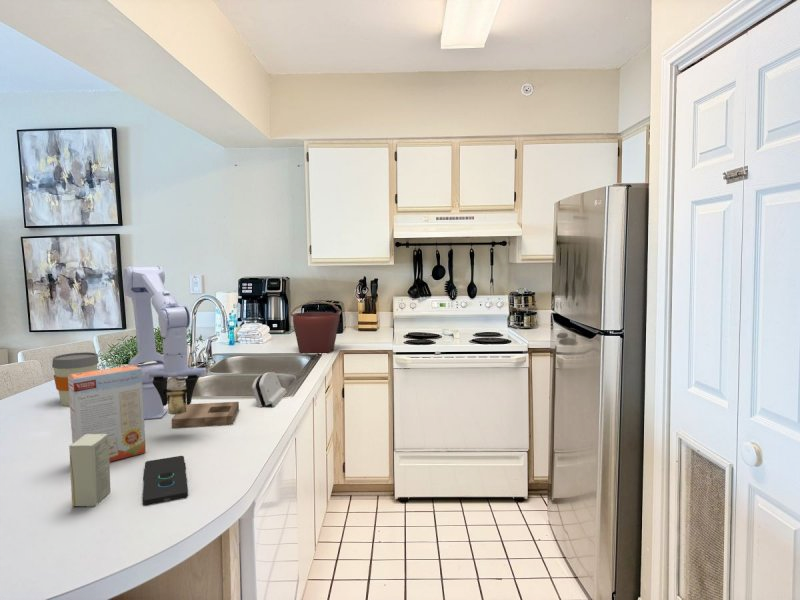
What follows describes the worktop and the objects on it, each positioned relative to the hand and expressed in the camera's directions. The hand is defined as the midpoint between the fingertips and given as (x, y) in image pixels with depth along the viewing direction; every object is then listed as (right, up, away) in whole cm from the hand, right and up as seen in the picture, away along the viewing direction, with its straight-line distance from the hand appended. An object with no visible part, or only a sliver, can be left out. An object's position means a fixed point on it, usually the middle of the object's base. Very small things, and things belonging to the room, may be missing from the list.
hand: (177, 404), depth 131 cm
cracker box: (-9, -10, -14) cm, 20 cm away
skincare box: (-1, -12, -34) cm, 36 cm away
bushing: (0, -2, 0) cm, 2 cm away
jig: (+2, -7, +14) cm, 16 cm away
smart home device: (+9, -11, -26) cm, 30 cm away
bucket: (+17, +2, +116) cm, 118 cm away
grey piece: (+16, -6, +33) cm, 37 cm away
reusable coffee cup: (-46, -6, +30) cm, 55 cm away
